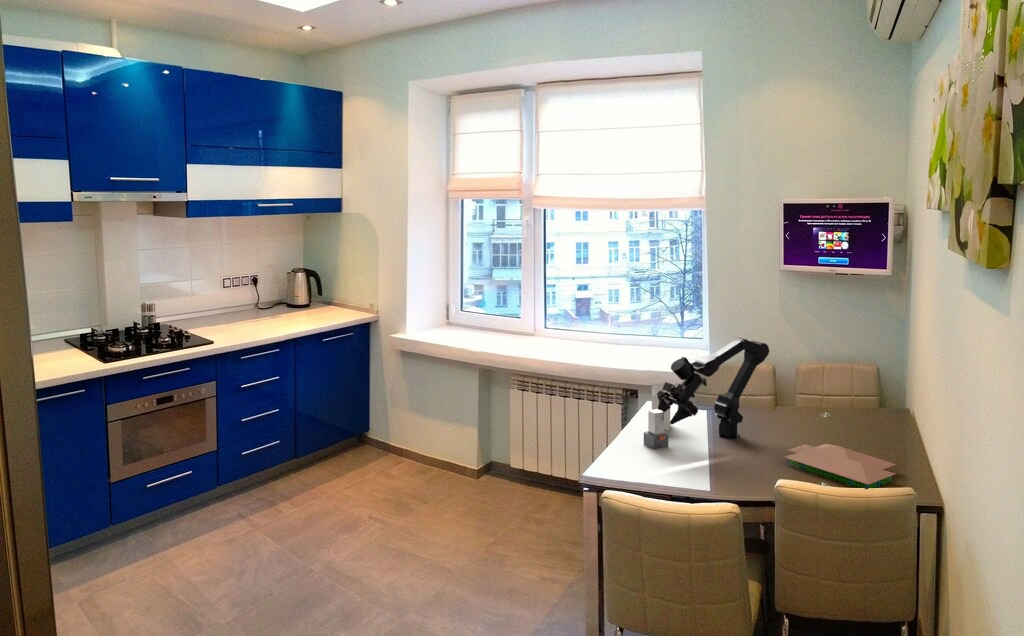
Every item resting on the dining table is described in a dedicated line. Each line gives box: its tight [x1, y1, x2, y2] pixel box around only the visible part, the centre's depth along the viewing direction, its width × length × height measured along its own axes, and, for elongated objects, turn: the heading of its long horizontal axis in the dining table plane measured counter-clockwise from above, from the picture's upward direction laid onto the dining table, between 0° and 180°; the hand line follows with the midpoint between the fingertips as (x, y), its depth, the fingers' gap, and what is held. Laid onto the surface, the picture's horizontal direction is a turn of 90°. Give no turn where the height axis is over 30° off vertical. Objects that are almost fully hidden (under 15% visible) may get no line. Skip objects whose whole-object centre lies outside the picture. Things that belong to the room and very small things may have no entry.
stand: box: [643, 430, 670, 450], centre depth 269 cm, size 10×10×6 cm
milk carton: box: [651, 382, 671, 431], centre depth 290 cm, size 7×7×19 cm
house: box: [783, 443, 897, 489], centre depth 244 cm, size 23×33×8 cm
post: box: [647, 409, 665, 436], centre depth 268 cm, size 4×4×13 cm
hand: (663, 420), depth 269 cm, fingers open, 9 cm apart
